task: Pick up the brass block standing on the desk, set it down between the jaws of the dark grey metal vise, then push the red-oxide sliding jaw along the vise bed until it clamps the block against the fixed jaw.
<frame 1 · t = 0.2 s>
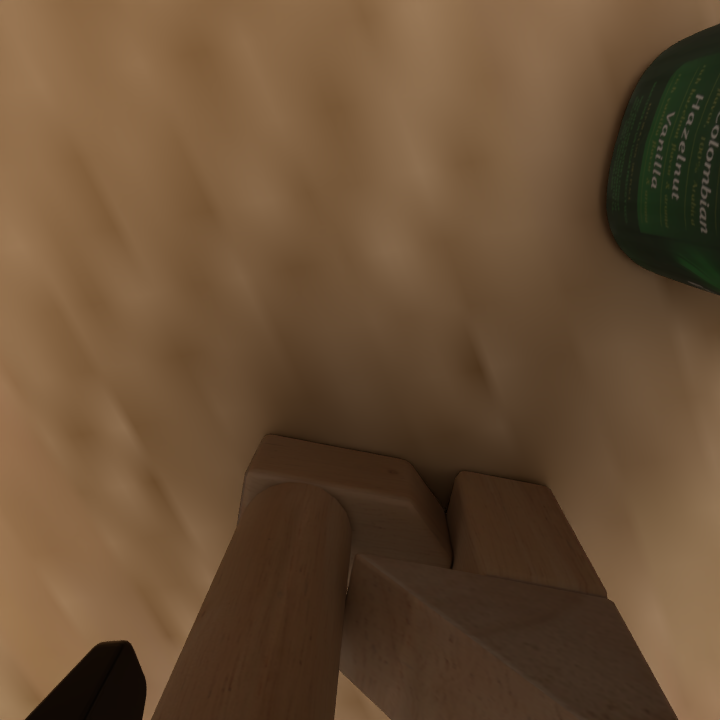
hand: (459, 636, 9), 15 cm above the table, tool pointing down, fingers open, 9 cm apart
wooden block: (398, 497, 26), on the table
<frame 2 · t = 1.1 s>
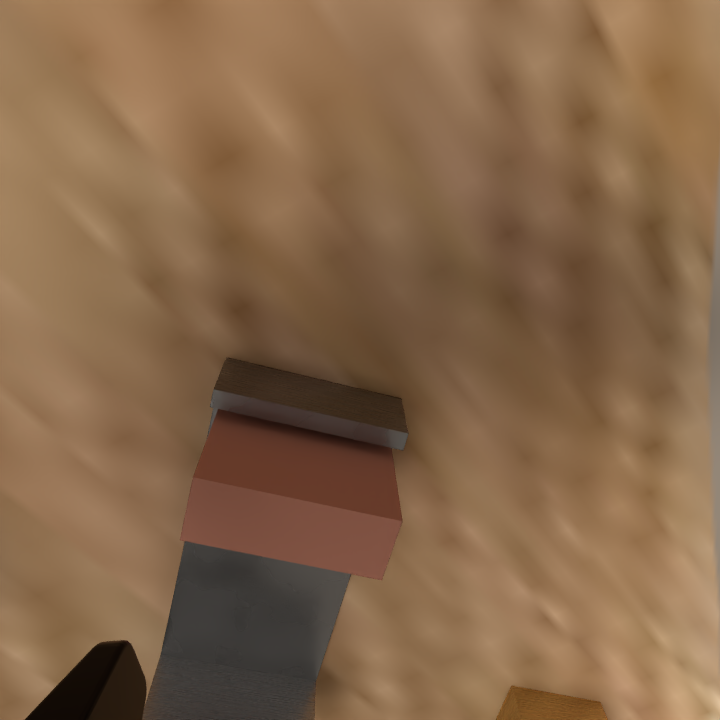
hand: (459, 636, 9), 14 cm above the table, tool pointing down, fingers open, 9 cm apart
vise: (270, 546, 25), on the table
jaw: (295, 485, 20), point 4 cm above the table, slide at 0.0 cm
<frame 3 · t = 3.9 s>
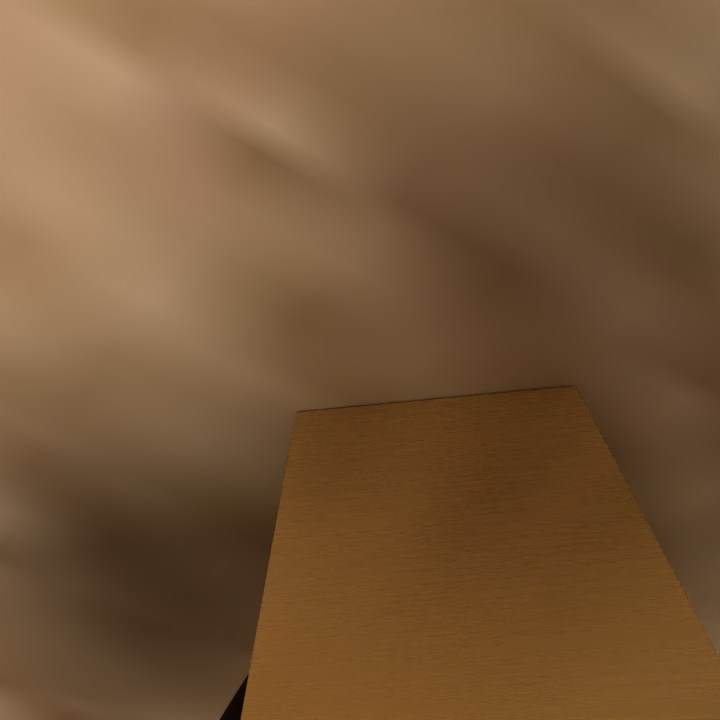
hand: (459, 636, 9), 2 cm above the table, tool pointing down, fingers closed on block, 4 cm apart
block: (444, 531, 11), on the table, touching gripper
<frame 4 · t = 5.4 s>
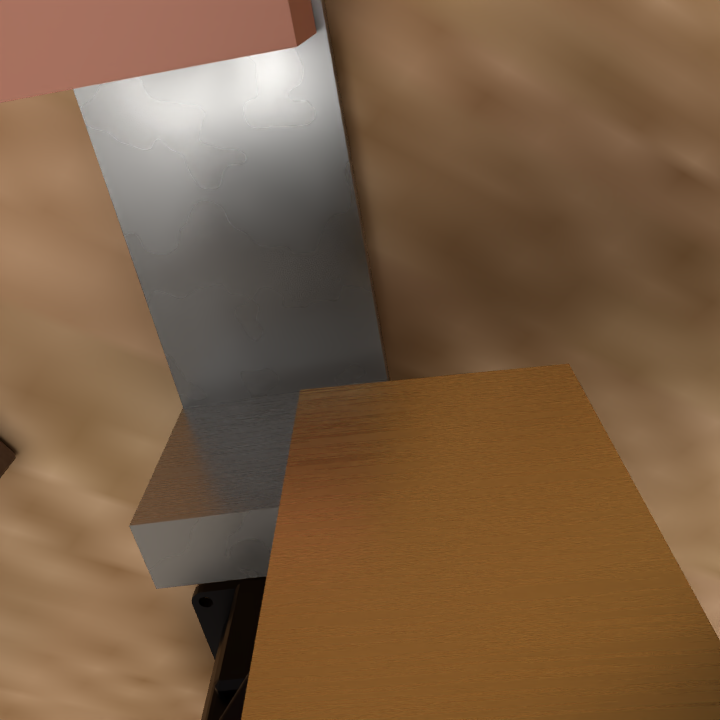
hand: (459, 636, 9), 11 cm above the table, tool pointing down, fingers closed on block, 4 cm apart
block: (443, 507, 11), point 9 cm above the table, touching gripper
vise: (246, 214, 18), on the table
jaw: (150, 8, 13), point 4 cm above the table, slide at 0.0 cm
when the fingers open (4 cm above the table, at t = 7.4 s): block stays where it is, resting on vise.
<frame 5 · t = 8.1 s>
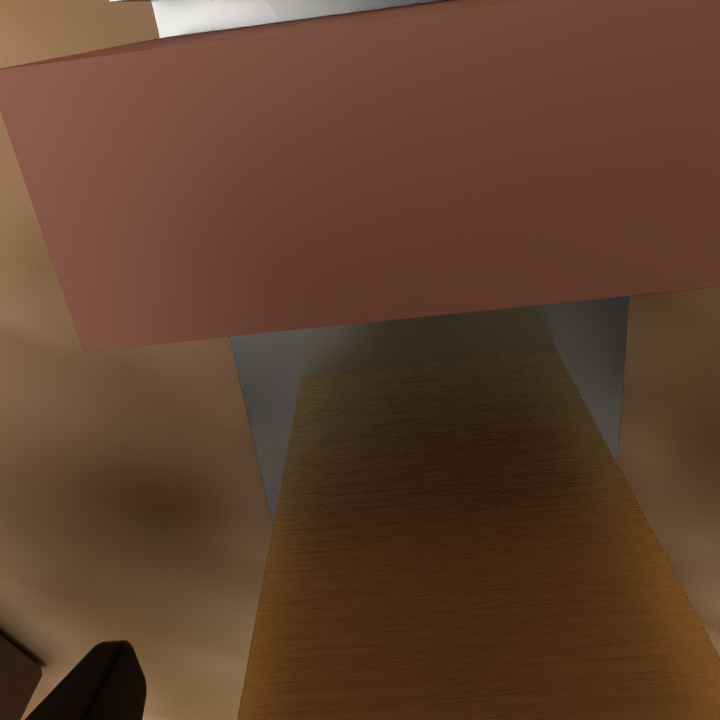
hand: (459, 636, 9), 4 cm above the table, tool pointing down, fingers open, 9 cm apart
block: (437, 490, 12), point 1 cm above the table, touching vise
vise: (428, 387, 12), on the table
jaw: (419, 124, 7), point 3 cm above the table, slide at 0.0 cm
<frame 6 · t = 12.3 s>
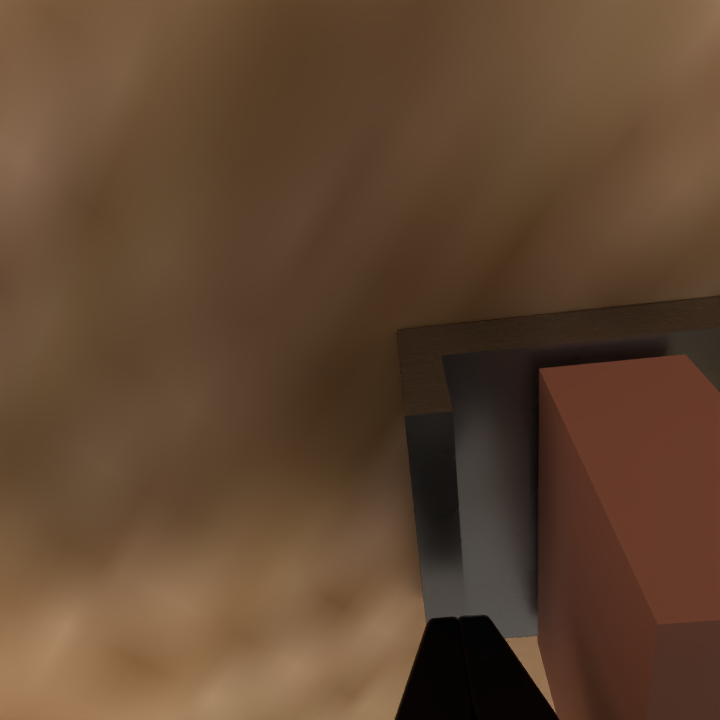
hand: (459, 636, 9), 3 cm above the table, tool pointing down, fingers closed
jaw: (653, 631, 9), point 3 cm above the table, slide at 0.9 cm, touching gripper
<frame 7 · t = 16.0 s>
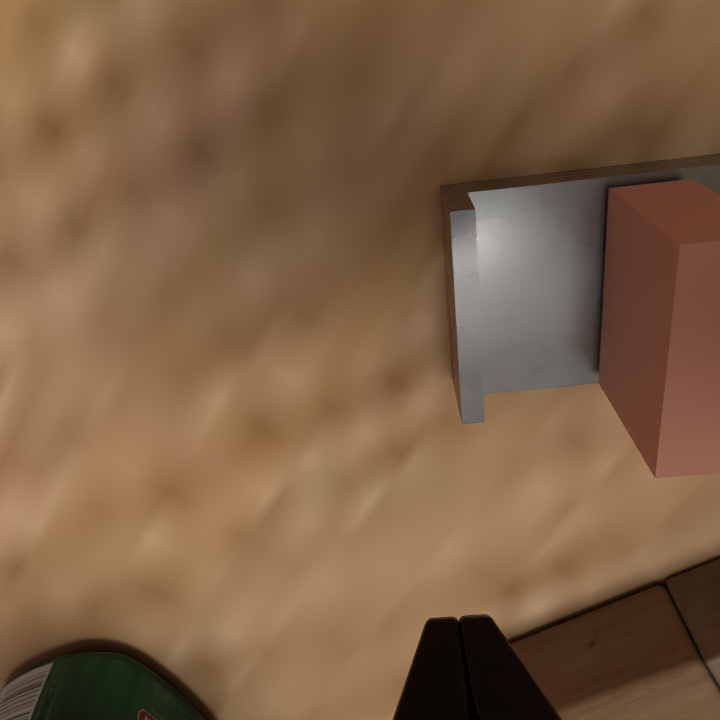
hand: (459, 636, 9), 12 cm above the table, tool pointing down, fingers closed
coffee jar: (121, 710, 29), on the table
vise: (695, 263, 19), on the table
jaw: (673, 323, 16), point 4 cm above the table, slide at 3.1 cm, touching block
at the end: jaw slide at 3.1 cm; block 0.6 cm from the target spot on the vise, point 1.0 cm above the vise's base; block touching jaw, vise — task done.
